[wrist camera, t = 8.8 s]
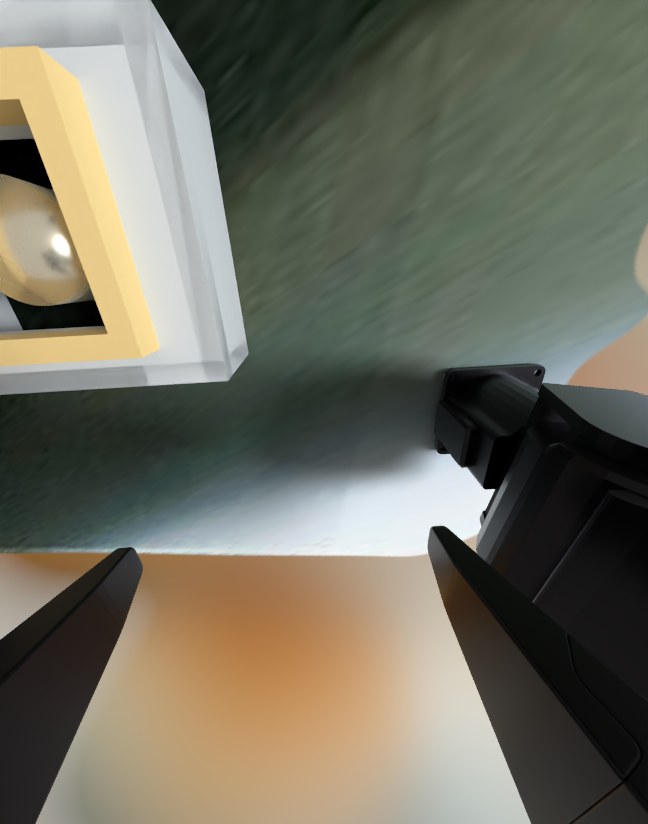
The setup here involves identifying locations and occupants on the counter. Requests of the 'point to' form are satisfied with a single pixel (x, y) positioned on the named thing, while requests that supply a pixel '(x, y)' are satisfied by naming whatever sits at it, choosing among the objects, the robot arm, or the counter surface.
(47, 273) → the silver metal can
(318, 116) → the counter surface
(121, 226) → the square frame box
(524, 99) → the counter surface
